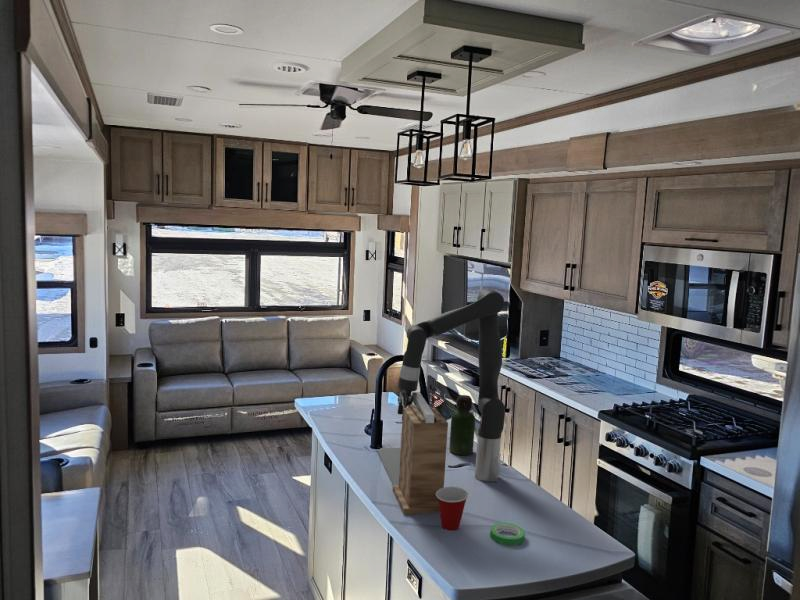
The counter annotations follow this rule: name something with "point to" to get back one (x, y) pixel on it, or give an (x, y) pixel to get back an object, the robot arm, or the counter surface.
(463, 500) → the plastic cup
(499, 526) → the tape roll
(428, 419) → the steel bar
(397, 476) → the rubber mat
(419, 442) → the brown tall ridged block
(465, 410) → the green bottle
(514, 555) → the counter surface
